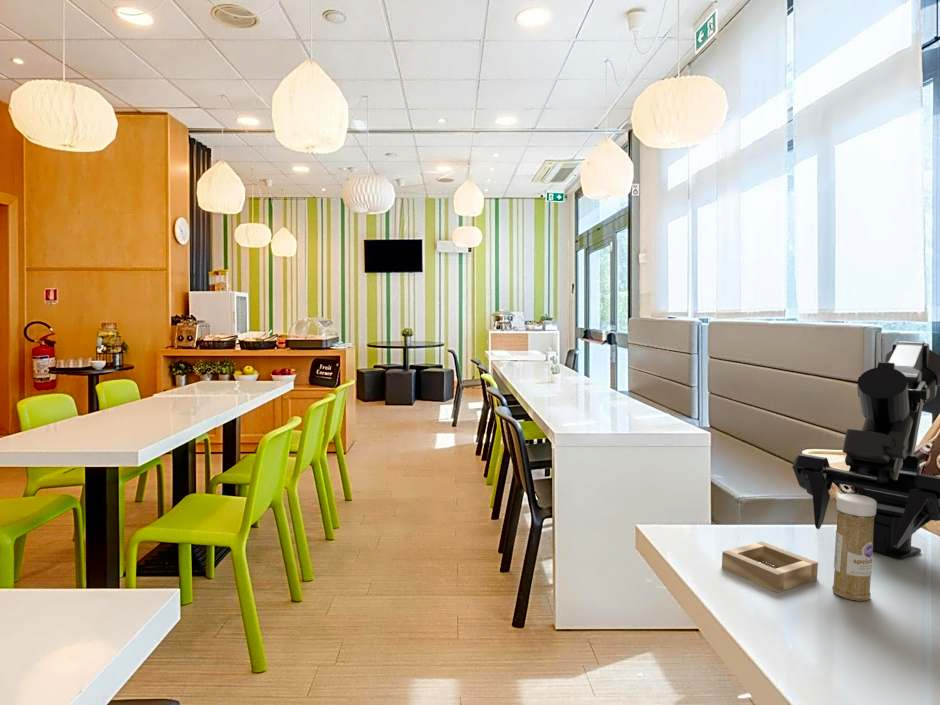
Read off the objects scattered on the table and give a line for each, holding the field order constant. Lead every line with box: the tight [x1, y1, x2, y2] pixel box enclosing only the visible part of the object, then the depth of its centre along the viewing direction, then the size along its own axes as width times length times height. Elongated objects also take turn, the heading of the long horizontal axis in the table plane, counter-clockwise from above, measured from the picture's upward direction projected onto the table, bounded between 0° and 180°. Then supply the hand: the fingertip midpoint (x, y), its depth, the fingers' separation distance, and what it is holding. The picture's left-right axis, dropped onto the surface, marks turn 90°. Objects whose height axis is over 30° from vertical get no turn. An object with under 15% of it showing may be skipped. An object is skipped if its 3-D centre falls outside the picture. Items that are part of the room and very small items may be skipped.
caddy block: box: [721, 541, 819, 593], centre depth 92 cm, size 9×9×2 cm
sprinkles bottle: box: [831, 493, 877, 602], centre depth 85 cm, size 5×5×13 cm
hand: (854, 536), depth 84 cm, fingers open, 9 cm apart
